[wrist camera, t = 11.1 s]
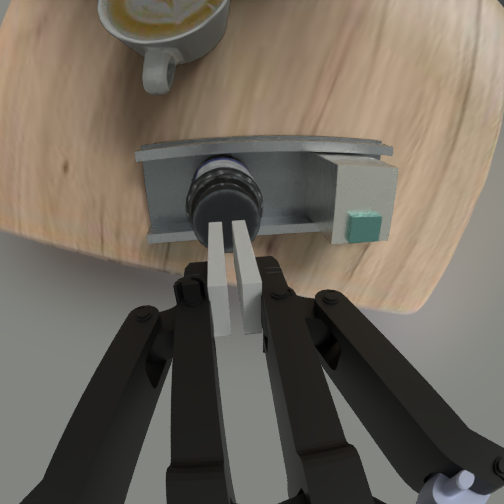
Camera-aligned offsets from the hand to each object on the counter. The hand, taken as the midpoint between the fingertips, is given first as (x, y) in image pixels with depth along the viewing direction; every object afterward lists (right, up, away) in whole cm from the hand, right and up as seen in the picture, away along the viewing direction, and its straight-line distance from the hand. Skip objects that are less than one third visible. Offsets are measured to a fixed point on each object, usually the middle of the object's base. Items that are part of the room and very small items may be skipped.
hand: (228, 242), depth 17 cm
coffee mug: (-7, +21, +5) cm, 22 cm away
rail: (+3, +7, +13) cm, 15 cm away
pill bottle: (-2, +7, +12) cm, 14 cm away
